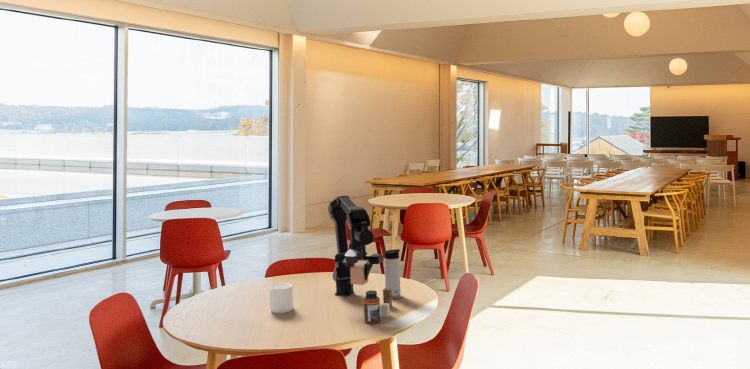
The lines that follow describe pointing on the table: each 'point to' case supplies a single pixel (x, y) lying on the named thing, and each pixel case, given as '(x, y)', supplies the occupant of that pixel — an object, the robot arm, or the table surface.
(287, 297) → the cup
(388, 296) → the post
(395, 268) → the travel mug
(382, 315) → the white block
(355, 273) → the pink foam cube
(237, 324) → the table surface
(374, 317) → the supplement bottle
